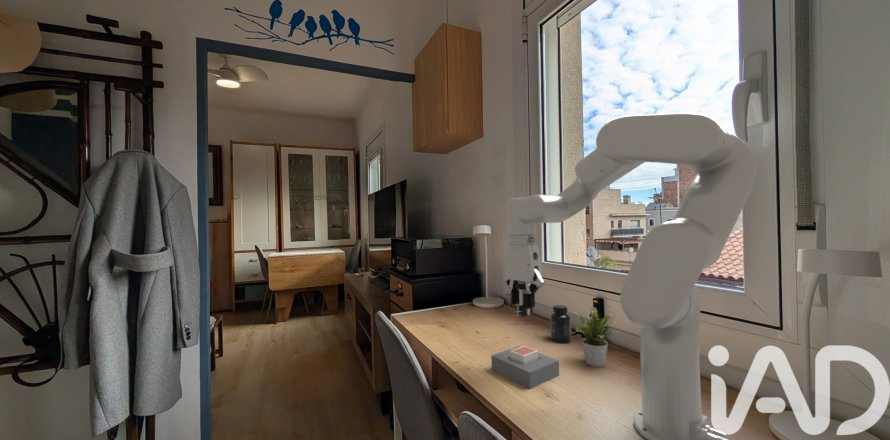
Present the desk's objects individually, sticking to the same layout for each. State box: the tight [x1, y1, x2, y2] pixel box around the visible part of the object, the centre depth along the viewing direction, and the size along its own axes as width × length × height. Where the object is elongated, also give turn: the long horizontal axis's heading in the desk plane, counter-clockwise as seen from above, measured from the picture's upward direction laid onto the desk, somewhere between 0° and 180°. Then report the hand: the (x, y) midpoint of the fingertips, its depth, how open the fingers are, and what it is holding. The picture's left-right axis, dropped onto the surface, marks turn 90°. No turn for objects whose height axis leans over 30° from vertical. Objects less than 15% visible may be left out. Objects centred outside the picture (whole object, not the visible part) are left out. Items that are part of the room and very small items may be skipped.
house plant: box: [572, 307, 619, 368], centre depth 94 cm, size 14×14×16 cm
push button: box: [514, 281, 534, 318], centre depth 90 cm, size 7×5×10 cm
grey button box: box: [491, 345, 560, 389], centre depth 89 cm, size 14×12×4 cm
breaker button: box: [510, 345, 539, 365], centre depth 90 cm, size 5×6×4 cm
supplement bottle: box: [550, 304, 572, 344], centre depth 114 cm, size 7×7×12 cm
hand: (522, 305), depth 90 cm, fingers closed on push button, 4 cm apart
